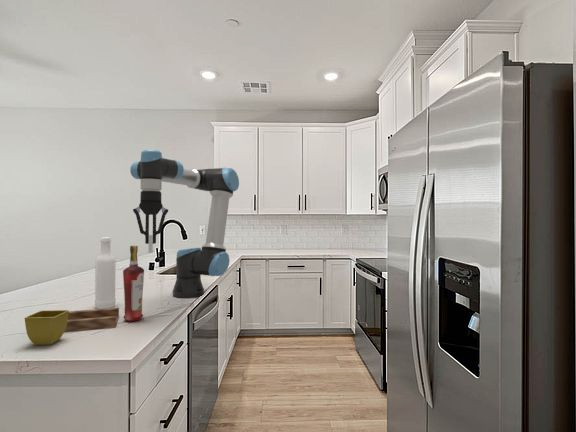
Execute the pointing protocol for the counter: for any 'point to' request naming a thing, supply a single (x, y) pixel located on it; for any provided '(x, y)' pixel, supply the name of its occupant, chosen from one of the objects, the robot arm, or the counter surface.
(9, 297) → the counter surface
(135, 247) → the liquor
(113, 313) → the rest
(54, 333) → the flower pot
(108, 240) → the bottle
